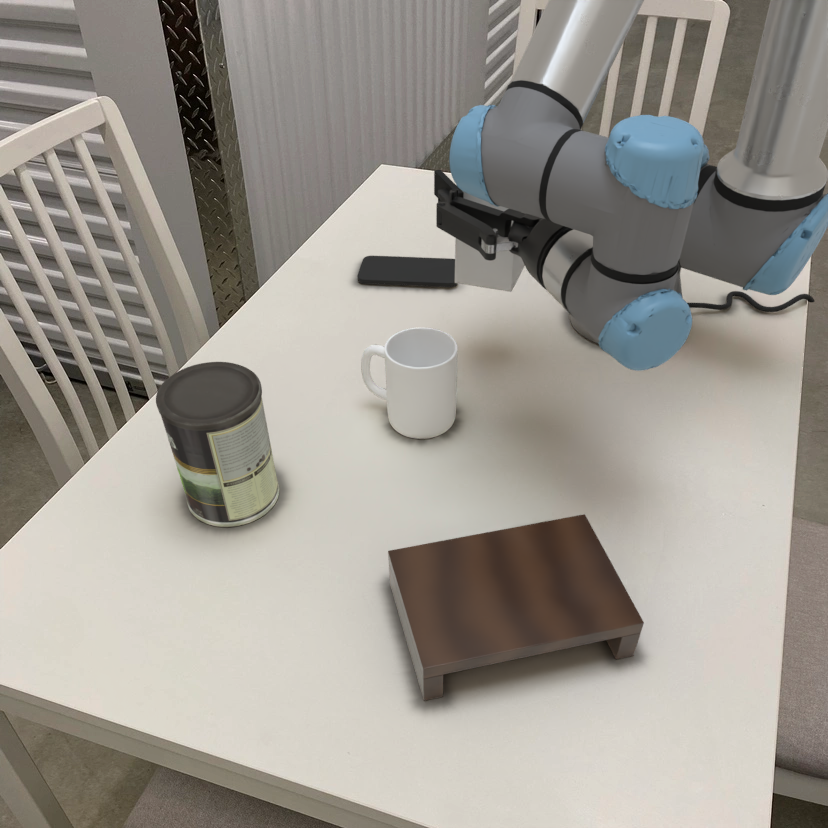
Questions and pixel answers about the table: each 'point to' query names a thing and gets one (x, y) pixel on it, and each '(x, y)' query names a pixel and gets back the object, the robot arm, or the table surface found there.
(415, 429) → the cup
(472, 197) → the milk carton
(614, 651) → the shelf
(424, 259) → the phone
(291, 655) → the table surface
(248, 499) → the coffee can
